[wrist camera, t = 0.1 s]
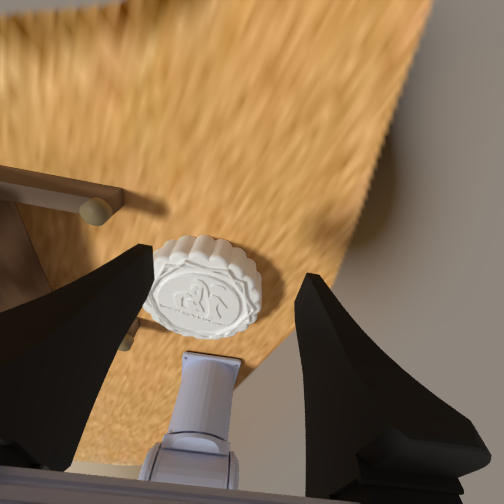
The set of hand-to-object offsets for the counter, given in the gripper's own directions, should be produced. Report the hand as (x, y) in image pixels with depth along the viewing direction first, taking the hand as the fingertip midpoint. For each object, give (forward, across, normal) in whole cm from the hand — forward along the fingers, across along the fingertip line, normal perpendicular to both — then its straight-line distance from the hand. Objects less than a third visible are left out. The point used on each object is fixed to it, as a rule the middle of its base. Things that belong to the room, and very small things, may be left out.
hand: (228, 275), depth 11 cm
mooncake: (+10, +2, +10) cm, 15 cm away
